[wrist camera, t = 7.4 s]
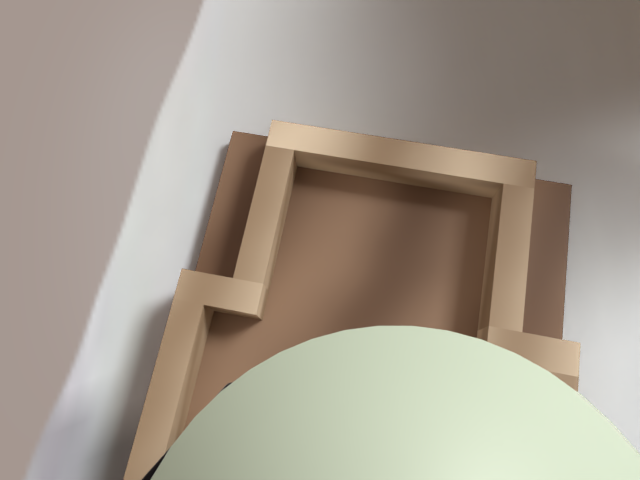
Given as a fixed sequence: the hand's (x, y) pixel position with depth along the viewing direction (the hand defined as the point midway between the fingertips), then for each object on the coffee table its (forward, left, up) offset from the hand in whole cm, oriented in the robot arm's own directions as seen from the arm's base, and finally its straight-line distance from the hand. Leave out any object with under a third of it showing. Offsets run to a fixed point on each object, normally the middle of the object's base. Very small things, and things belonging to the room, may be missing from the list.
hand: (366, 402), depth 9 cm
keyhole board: (0, -1, -12) cm, 12 cm away
